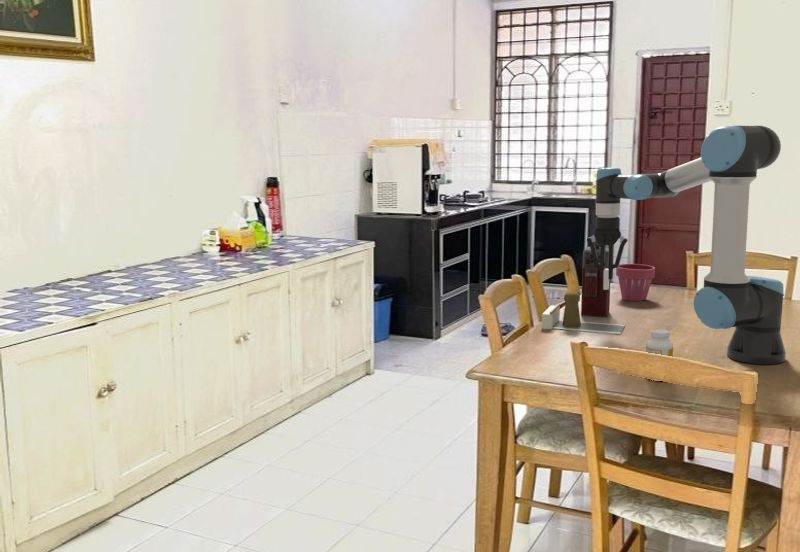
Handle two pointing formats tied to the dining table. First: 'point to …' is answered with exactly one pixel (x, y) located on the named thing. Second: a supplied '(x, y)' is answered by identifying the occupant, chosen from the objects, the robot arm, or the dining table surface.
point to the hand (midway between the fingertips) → (606, 288)
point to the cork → (571, 310)
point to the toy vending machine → (594, 285)
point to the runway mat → (592, 327)
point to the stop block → (550, 317)
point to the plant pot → (635, 280)
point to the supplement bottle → (660, 343)
